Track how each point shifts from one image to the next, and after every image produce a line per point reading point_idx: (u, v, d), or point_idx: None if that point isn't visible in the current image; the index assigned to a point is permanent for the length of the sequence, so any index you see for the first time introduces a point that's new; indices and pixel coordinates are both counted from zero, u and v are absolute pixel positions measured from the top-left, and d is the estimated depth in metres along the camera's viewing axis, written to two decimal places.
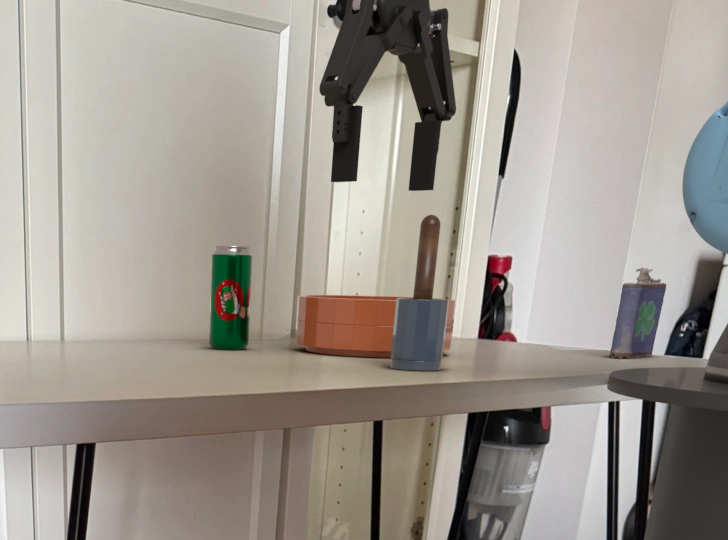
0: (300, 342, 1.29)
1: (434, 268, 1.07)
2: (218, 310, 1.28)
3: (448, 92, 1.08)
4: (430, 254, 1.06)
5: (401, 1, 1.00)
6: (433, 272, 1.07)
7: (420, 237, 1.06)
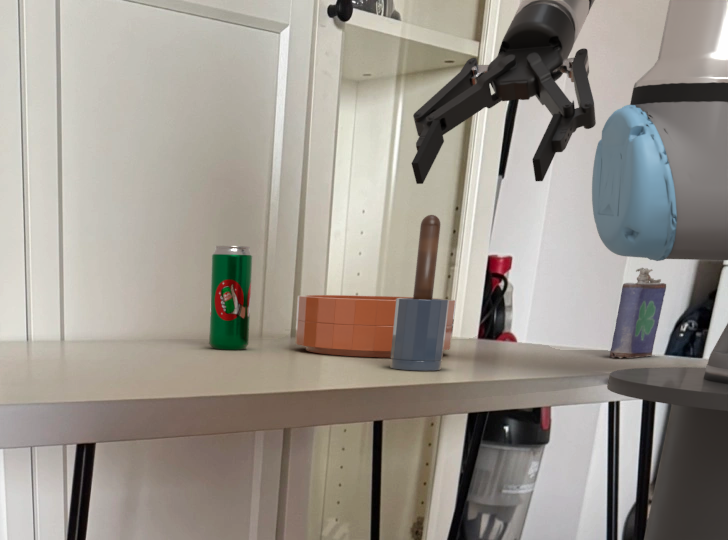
0: (300, 342, 1.29)
1: (434, 268, 1.07)
2: (218, 310, 1.28)
3: (581, 95, 1.08)
4: (430, 254, 1.06)
5: None
6: (433, 272, 1.07)
7: (420, 237, 1.06)
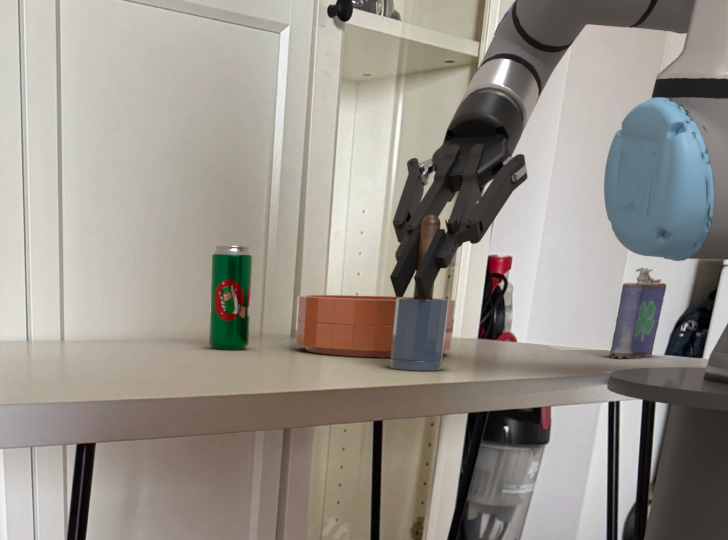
0: (300, 342, 1.29)
1: None
2: (218, 310, 1.28)
3: (477, 207, 1.04)
4: None
5: None
6: None
7: (420, 236, 1.06)
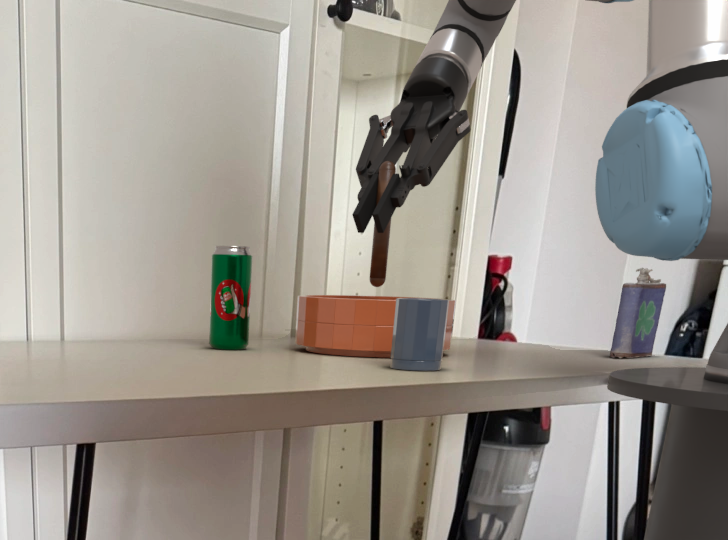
0: (300, 342, 1.29)
1: None
2: (218, 310, 1.28)
3: (426, 154, 1.22)
4: None
5: None
6: None
7: (378, 180, 1.24)
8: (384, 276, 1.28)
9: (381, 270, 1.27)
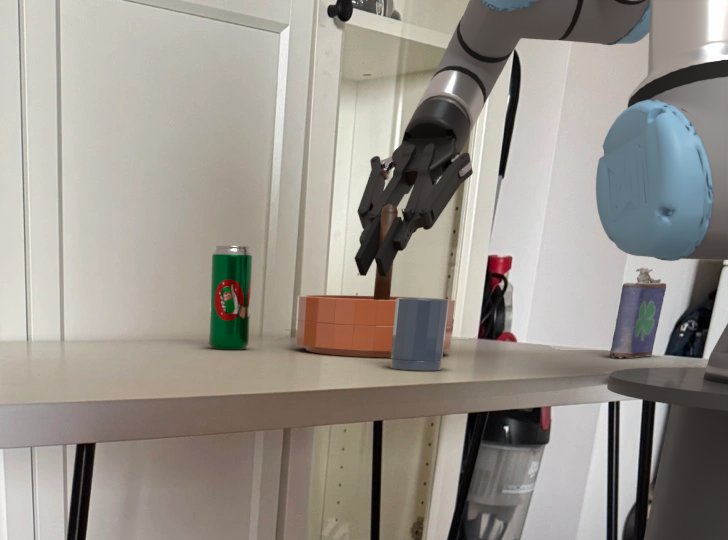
0: (300, 342, 1.29)
1: None
2: (218, 310, 1.28)
3: (428, 198, 1.22)
4: None
5: (414, 147, 1.26)
6: None
7: (380, 223, 1.23)
8: None
9: None
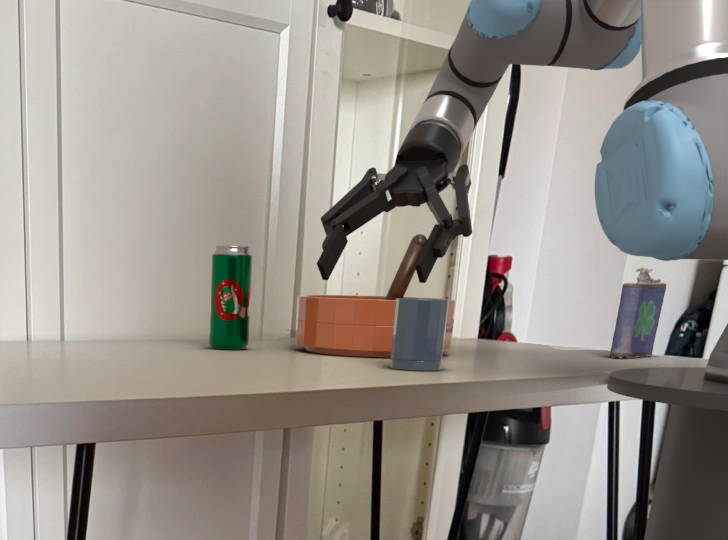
0: (300, 342, 1.29)
1: (410, 279, 1.26)
2: (218, 310, 1.28)
3: (459, 208, 1.23)
4: (410, 268, 1.25)
5: None
6: (408, 282, 1.26)
7: (407, 250, 1.24)
8: None
9: None
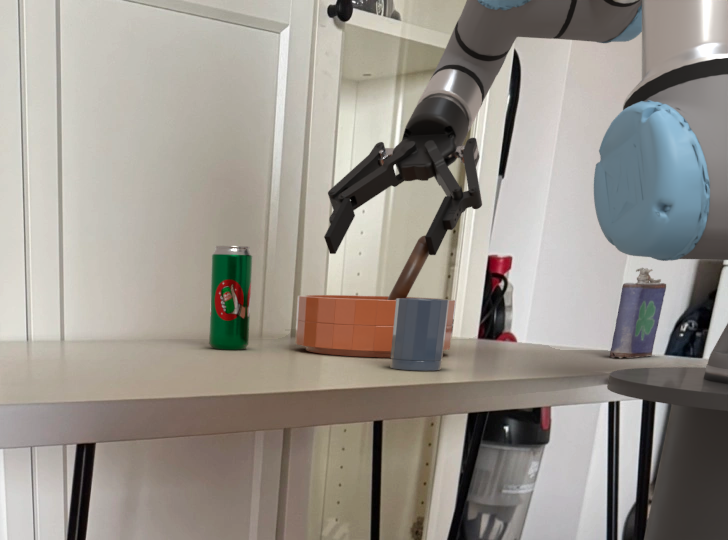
0: (300, 342, 1.29)
1: (414, 280, 1.26)
2: (218, 310, 1.28)
3: (469, 180, 1.23)
4: (415, 268, 1.25)
5: (414, 144, 1.30)
6: (412, 283, 1.27)
7: (413, 250, 1.25)
8: None
9: None
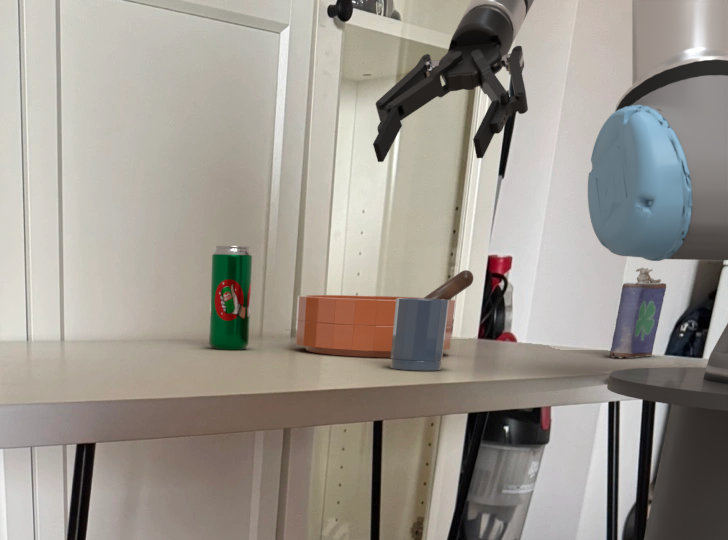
0: (300, 342, 1.29)
1: None
2: (218, 310, 1.28)
3: (515, 85, 1.27)
4: (446, 294, 1.27)
5: None
6: None
7: (453, 278, 1.27)
8: None
9: None
